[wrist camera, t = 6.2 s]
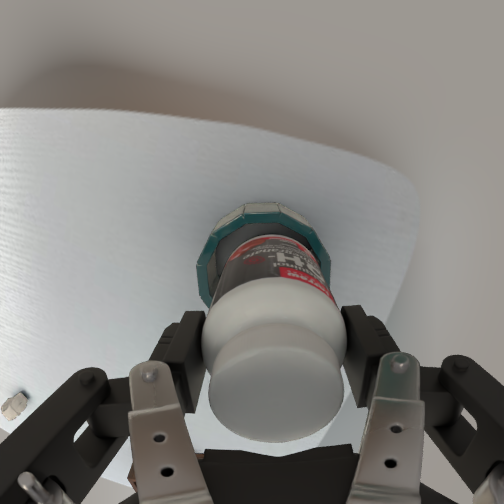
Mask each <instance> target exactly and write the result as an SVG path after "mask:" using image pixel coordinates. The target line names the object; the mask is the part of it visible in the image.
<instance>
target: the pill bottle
mask: <svg viewBox="0 0 504 504" xmlns="http://www.w3.org/2000/svg"><path fill="white" fill-rule="evenodd" d="M201 351H202V357H203V361H204V364H205V366H206V368H207V370H208V372H209V374H210V375H211V379H210V384H209V392H208V393H209V402H210V406H211V409H212V411H213V413H214V414H215V416H216V418H217V419H218V420H219V421H220V422H221V423H222V424H223V425H224V426H225V427H226V428H228V429H229V430H230V431H232V432H234V433H235V434H237V435H239V436H242V437H245V438H248V439H250V440H255V441H260V442H270V443H279V442H288V441H293V440H297V439H301V438H304V437H307V436H309V435H311V434H313V433H315V432H317V431H319V430H320V429H322V428H323V427H325V426H326V425H327V424H328V423H329V422H330V421H331V420H332V419H333V418H334V417H335V415H336V414H337V413H338V411H339V409H340V407H341V404H342V402H343V397H344V384H343V379H342V375H341V372H340V368H341V366H342V364H343V362H344V359H345V355H346V351H347V332H346V327H345V323H344V320H343V317H342V315H341V312H340V310H339V308H338V306H337V304H336V302H335V300H334V297H333V295H332V293H331V291H330V289H329V287H328V285H327V283H326V280H325V278H324V276H323V274H322V272H321V269H320V267H319V265H318V263H317V262H316V260H315V258H314V256H313V255H312V254H311V252H310V251H309V250H308V249H307V248H306V247H305V246H303V245H302V244H301V243H299V242H298V241H296V240H294V239H292V238H289V237H286V236H282V235H262V236H258V237H254V238H252V239H250V240H248V241H246V242H244V243H243V244H241V245H240V246H239V247H238V248H237V249H236V250H235V251H234V252H233V253H232V254H231V256H230V257H229V259H228V261H227V263H226V265H225V267H224V270H223V272H222V275H221V278H220V280H219V283H218V286H217V289H216V292H215V295H214V297H213V300H212V303H211V306H210V309H209V311H208V314H207V317H206V320H205V322H204V325H203V329H202V337H201Z"/></svg>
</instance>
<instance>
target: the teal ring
mask: <svg viewBox="0 0 504 504" xmlns="http://www.w3.org/2000/svg"><path fill="white" fill-rule="evenodd" d="M253 223H280V224H282V225H284V226H285V227H287V228H289V229H291V230H293V231H295V232H297V233H299V234H300V235H302V236H304V237H306V239H307V241H308V242H309V244H310V246H311V254H312V255H313V256H314V258H315V260H316V262H317V263H318V265H319V267H320V269H321V272H322V274H323V276H324V278H325V280H326V283H327V285H328V287H329V289H330V270H331V260H330V257H329V255H328V253H327V251H326V250H325V248H324V246H323V244H322V243H321V241H320V239H319V237H318V236H317V234H316V232H315V231H314V229H313V228H312V227H311V225H310V224H309V222H308V221H307V220H306V219H305V218H304V217H303V216H302V215H300V214H298V213H296V212H294V211H292V210H291V209H289V208H287V207H285V206H283V205H281V204H279V203H278V204H277V203H276V202H274V203H247V204H246V205H245V204H244V205H242V206H241V207H239V208H238V209H236V210H234V211H233V212H231V213H230V214H228V215H227V216H225V217H223V218H222V219H220V221H219V222H218V223H217V225H216V226H215V228H214V229H213V231H212V233H211V234H210V236H209V238H208V240H207V242H206V244H205V246H204V248H203V251H202V253H201V255H200V257H199V259H198V261H197V265H196V269H197V278H198V287H199V295H200V296H201V299H202V300H203V302H204V303H205V304H206V306H207V307H208V308H209V309H210V306H211V303H212V300H213V297H214V295H215V292H216V289H217V286H218V283H219V280H220V277H219V275H218V274H217V267H216V255H215V249H216V247H217V245H218V243H219V241H220V240H221V239H223V238H224V237H226V236H228V235H229V234H231V233H232V232H234V231H236V230H237V229H239V228H240V227H242V226H244V225H245V224H253Z"/></svg>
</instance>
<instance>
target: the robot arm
mask: <svg viewBox="0 0 504 504" xmlns="http://www.w3.org/2000/svg"><path fill="white" fill-rule="evenodd" d="M341 315H342V317H343V320H344V323H345V327H346V332H347V351H346V355H345V359H344V362H343V366H344V369H345V372H346V375H347V378H348V381H349V384H350V387H351V390H352V393H353V395H354V399H355V402H356V405H357V408H361V407H368V410H369V411H368V415H367V419H366V424H365V428H364V432H363V436H362V440H361V444H360V447H359V451H358V453H353V449H352V445H351V444H344V445H336V446H326V447H316V448H312V449H309V450H305V451H302V452H298V453H294V454H290V455H286V456H282V457H274V456H268V455H262V454H257V453H252V452H247V451H242V450H215V449H205V451H204V457H203V459H198V460H197V457H196V454H195V451H194V448H193V445H192V442H191V439H190V436H189V433H188V430H187V426H186V423H185V420H184V416H185V413H195V411H196V407H197V403H198V399H199V395H200V391H201V387H202V383H203V379H204V375H205V372H206V366H205V364H204V361H203V357H202V351H201V337H202V329H203V325H204V322H205V320H206V316H205V312H204V311H185V313H184V315H183V317H182V319H181V321H180V323H172V324H171V325H170V326H168V327H167V328H166V329H165V330H164V332H163V334H162V336H161V338H160V339H159V341H158V344H157V345H156V347H155V349H154V351H153V353H152V355H151V357H150V358H149V360H148V361H146V362H142V363H140V364H138V365H136V366H134V367H133V368H132V369H131V371H130V373H129V377H125V378H117V379H108V378H107V375H106V373H105V372H104V371H103V370H102V369H100V368H94V367H90V368H85V369H82V370H79V371H77V372H76V373H74V374H73V375H72V376H71V377H70V378H69V379H68V380H67V381H66V382H65V383H64V384H62V385H61V386H60V387H59V388H58V389H57V390H56V391H55V392H54V393H53V394H52V395H51V396H50V397H49V398H48V399H47V400H45V401H44V402H43V403H42V404H41V405H40V406H39V407H38V408H37V409H36V410H35V411H34V412H33V413H32V414H31V415H30V416H29V417H28V418H27V419H26V420H25V421H24V422H23V423H22V424H20V425H19V426H18V427H17V428H16V429H15V430H14V431H13V432H12V433H11V434H10V435H9V436H8V437H7V438H6V439H5V440H4V441H3V442H2V443H1V444H0V504H81V502H82V501H83V499H84V498H85V497H86V495H87V494H88V493H89V491H90V490H91V488H92V487H93V486H94V484H95V483H96V482H97V480H98V479H99V477H100V476H101V475H102V473H103V472H104V470H105V469H106V468H107V466H108V465H109V463H110V462H111V461H112V459H113V458H114V457H115V455H116V454H117V452H118V451H119V450H120V448H121V447H122V445H123V444H124V443H125V441H126V440H127V438H128V436H130V442H131V450H132V458H133V465H134V472H135V478H136V485H137V490H138V491H137V492H136V493H134V494H133V495H131V496H130V497H128V498H127V499H125V500H124V501H122V502H120V503H119V504H458V503H456V502H454V501H452V500H451V499H449V498H447V497H445V496H443V495H442V494H440V493H438V492H436V491H434V490H433V489H431V488H429V487H428V486H426V485H424V484H423V483H421V482H420V477H421V467H422V456H423V442H424V430H425V432H426V433H427V434H428V435H429V437H430V438H431V439H432V440H433V442H434V443H435V444H436V446H437V447H438V448H439V449H440V451H441V452H442V454H443V455H444V456H445V457H446V459H447V460H448V461H449V463H450V464H451V465H452V467H453V468H454V469H455V470H456V472H457V473H458V474H459V476H460V477H461V478H462V480H463V481H464V482H465V483H466V485H467V486H468V488H469V489H470V490H471V492H472V493H473V494H474V496H473V504H504V386H503V385H501V383H499V382H498V381H497V380H496V379H495V378H494V377H493V376H491V375H490V374H489V373H488V372H486V370H484V369H483V368H482V367H481V366H480V365H478V364H477V363H476V362H475V361H474V360H472V359H471V358H469V357H466V356H463V355H452V356H448V357H446V358H445V359H444V360H443V362H442V365H441V368H436V367H422V366H420V364H419V362H418V360H417V359H416V358H415V357H414V356H412V355H410V354H408V353H404V352H401V351H400V349H399V348H398V346H397V345H396V343H395V341H394V340H393V338H392V337H391V336H390V334H389V332H388V330H386V327H385V326H384V324H383V323H382V321H380V320H379V319H377V318H376V317H374V316H367V315H366V313H365V312H364V310H363V308H362V307H361V305H352V306H342V308H341ZM463 408H465V409H466V410H467V411H468V412H469V413H470V414H471V415H472V416H473V418H474V419H475V420H476V423H477V431H476V430H475V429H474V428H473V427H472V426H471V424H470V423H469V422H468V421H467V420H466V419H465V418H464V417H463V416H462V415H461V412H462V410H463ZM86 420H87V422H88V424H89V426H88V427H87V428H86V430H85V431H84V432H83V433H82V434H81V435H80V437H79V438H78V439H77V440H76V441H75V442H74V435H75V433H76V432H77V430H78V429H79V428H80V427H81V426H82V425H83V424H84V423H85V421H86Z"/></svg>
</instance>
